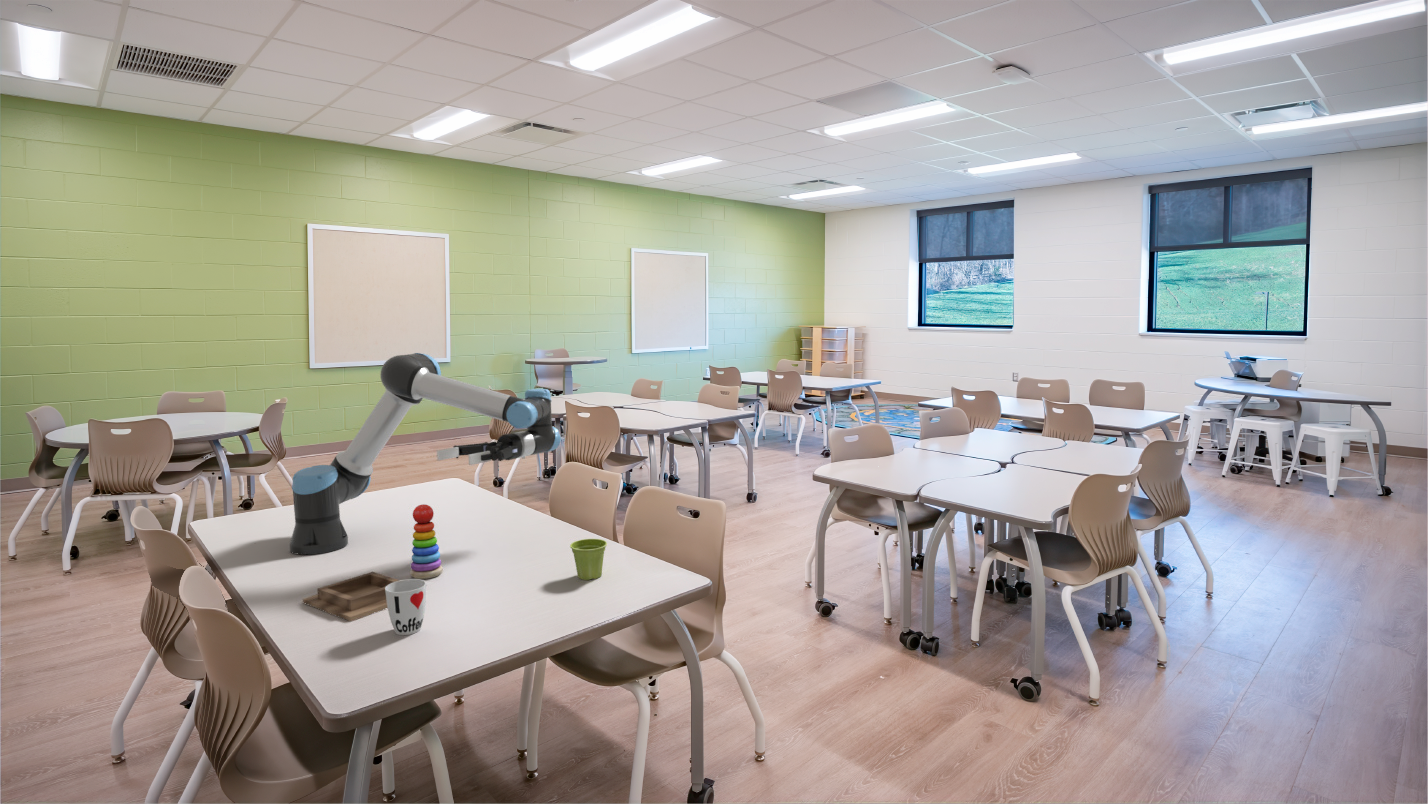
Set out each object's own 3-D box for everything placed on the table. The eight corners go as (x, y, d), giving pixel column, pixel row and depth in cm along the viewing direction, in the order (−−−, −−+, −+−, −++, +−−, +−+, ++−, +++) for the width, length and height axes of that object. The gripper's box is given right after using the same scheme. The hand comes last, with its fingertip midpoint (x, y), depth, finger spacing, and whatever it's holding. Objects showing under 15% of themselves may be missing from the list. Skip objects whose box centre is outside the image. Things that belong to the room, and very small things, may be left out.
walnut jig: (303, 602, 175) (301, 588, 175) (373, 580, 190) (372, 567, 190) (350, 621, 164) (349, 606, 164) (421, 595, 179) (421, 581, 179)
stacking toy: (449, 571, 197) (446, 502, 195) (428, 581, 189) (425, 509, 187) (425, 568, 199) (421, 500, 197) (403, 578, 192) (399, 507, 190)
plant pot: (596, 584, 186) (595, 551, 185) (564, 580, 190) (563, 547, 189) (614, 572, 195) (613, 540, 194) (582, 568, 198) (582, 537, 197)
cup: (389, 641, 154) (386, 594, 153) (386, 627, 161) (383, 582, 160) (430, 633, 158) (428, 588, 157) (425, 619, 165) (423, 576, 164)
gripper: (545, 461, 210) (484, 475, 193) (488, 454, 224) (426, 467, 207) (544, 435, 209) (482, 447, 192) (486, 430, 223) (424, 440, 206)
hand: (453, 457), depth 199 cm, fingers open, 13 cm apart
